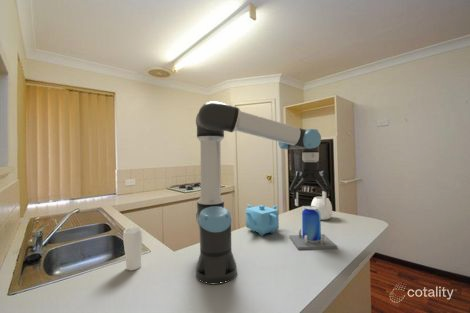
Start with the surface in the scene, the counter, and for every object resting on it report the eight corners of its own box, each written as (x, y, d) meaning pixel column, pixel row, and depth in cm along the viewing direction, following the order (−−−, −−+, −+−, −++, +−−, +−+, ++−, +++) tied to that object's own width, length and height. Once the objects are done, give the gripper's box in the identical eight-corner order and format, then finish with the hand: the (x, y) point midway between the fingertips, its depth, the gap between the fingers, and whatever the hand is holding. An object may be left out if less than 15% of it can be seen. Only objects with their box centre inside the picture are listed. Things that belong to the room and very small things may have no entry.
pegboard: (298, 249, 98) (297, 238, 98) (289, 237, 112) (289, 227, 112) (337, 248, 99) (336, 237, 99) (323, 236, 113) (323, 226, 113)
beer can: (322, 238, 107) (321, 206, 107) (318, 245, 100) (318, 210, 100) (305, 235, 111) (304, 204, 111) (300, 241, 104) (300, 208, 104)
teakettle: (279, 238, 112) (278, 210, 111) (242, 236, 115) (242, 209, 115) (278, 226, 130) (278, 201, 130) (247, 225, 133) (246, 201, 133)
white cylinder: (125, 265, 88) (123, 228, 88) (143, 261, 91) (142, 226, 90) (123, 274, 82) (122, 234, 81) (143, 269, 84) (142, 231, 84)
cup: (330, 222, 134) (330, 201, 134) (308, 219, 141) (308, 198, 141) (334, 217, 145) (333, 197, 145) (313, 214, 152) (313, 195, 152)
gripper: (286, 161, 101) (287, 207, 101) (339, 161, 102) (339, 206, 102) (282, 161, 108) (282, 203, 109) (332, 161, 109) (332, 203, 109)
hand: (310, 205), depth 105 cm, fingers open, 13 cm apart
